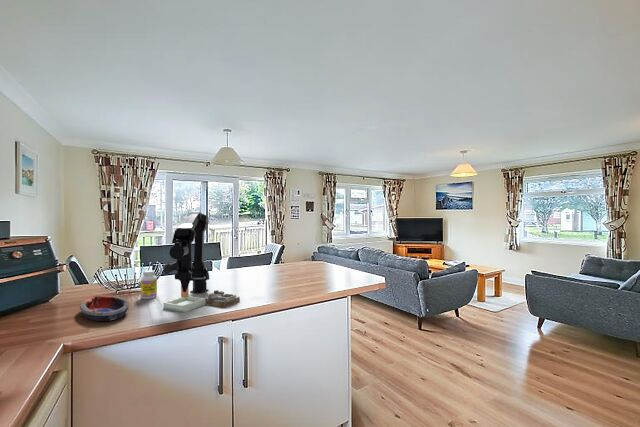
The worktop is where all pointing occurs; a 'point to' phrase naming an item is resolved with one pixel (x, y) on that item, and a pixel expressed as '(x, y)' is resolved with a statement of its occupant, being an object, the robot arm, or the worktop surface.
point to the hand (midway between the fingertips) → (184, 290)
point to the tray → (184, 303)
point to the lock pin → (184, 294)
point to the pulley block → (221, 299)
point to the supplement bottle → (148, 285)
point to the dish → (104, 307)
